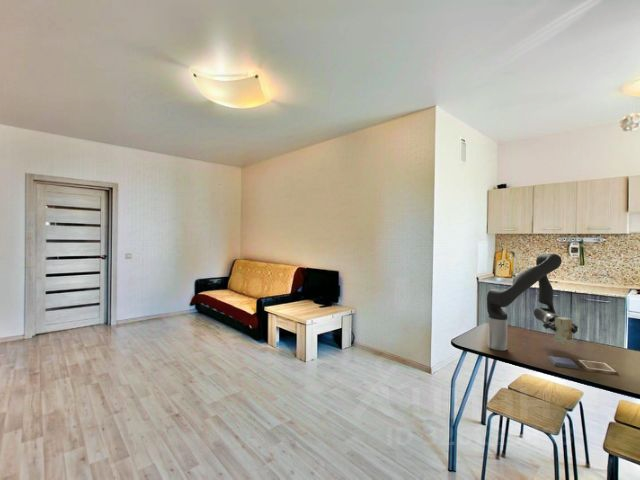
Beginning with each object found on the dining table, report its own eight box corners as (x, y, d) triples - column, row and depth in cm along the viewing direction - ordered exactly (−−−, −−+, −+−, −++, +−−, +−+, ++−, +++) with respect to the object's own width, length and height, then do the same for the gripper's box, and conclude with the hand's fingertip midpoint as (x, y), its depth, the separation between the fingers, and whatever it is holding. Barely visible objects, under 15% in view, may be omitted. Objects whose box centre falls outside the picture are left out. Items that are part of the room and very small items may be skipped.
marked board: (586, 370, 148) (586, 368, 148) (576, 361, 159) (576, 358, 159) (618, 375, 143) (618, 372, 143) (605, 365, 154) (606, 362, 154)
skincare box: (562, 344, 153) (563, 319, 153) (553, 341, 157) (554, 317, 157) (572, 343, 155) (572, 318, 154) (563, 340, 159) (563, 316, 159)
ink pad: (553, 365, 153) (553, 362, 153) (547, 358, 162) (547, 355, 162) (578, 369, 149) (578, 366, 149) (570, 361, 159) (571, 358, 159)
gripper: (538, 313, 172) (547, 321, 156) (570, 315, 166) (582, 324, 151) (538, 326, 172) (547, 336, 156) (569, 329, 166) (582, 339, 151)
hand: (564, 330), depth 154 cm, fingers closed on skincare box, 7 cm apart
